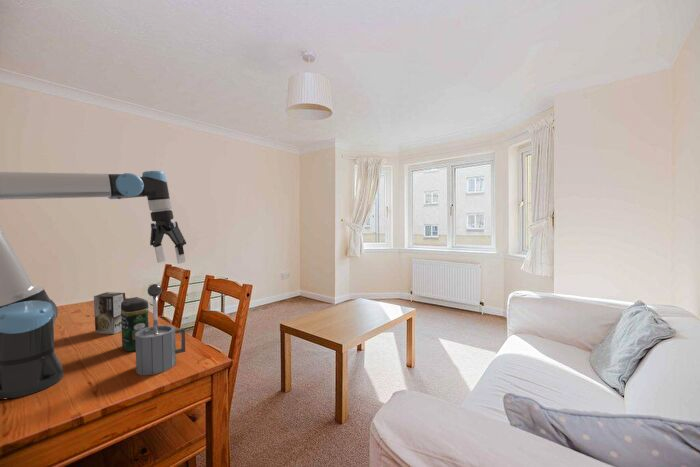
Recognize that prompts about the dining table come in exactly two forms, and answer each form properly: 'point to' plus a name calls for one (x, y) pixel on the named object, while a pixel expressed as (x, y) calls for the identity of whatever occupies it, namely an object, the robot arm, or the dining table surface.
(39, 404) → the dining table surface
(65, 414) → the dining table surface
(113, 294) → the coffee box
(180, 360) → the dining table surface
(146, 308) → the coffee jar
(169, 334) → the grey ribbed mug
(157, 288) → the plunger
